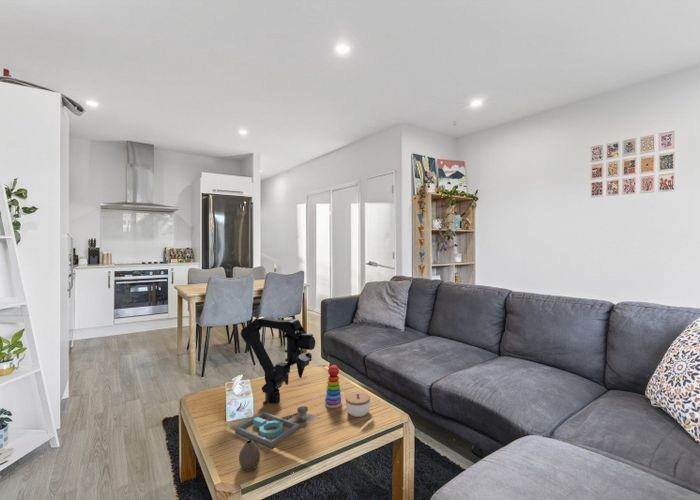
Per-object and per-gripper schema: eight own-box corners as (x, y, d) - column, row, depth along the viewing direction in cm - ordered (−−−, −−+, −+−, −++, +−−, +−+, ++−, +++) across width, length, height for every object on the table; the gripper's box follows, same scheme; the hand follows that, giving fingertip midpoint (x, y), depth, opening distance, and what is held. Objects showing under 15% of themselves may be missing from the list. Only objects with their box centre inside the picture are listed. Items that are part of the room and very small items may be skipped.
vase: (241, 461, 119) (241, 436, 119) (261, 460, 120) (261, 435, 119) (236, 474, 112) (236, 448, 112) (258, 473, 113) (257, 447, 113)
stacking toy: (339, 410, 154) (339, 369, 153) (322, 409, 155) (322, 368, 155) (343, 402, 161) (343, 363, 161) (327, 401, 163) (326, 362, 163)
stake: (285, 423, 143) (285, 410, 143) (301, 413, 152) (301, 401, 152) (304, 430, 138) (304, 417, 138) (319, 419, 146) (319, 406, 146)
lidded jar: (340, 415, 150) (340, 394, 150) (357, 406, 158) (356, 386, 157) (359, 423, 142) (358, 401, 142) (375, 414, 150) (375, 392, 150)
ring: (247, 430, 137) (246, 423, 137) (263, 420, 145) (263, 413, 145) (271, 440, 130) (271, 432, 130) (287, 429, 137) (287, 422, 137)
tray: (235, 433, 136) (235, 427, 136) (263, 417, 149) (263, 411, 149) (271, 449, 126) (271, 442, 126) (298, 430, 138) (298, 424, 138)
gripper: (292, 356, 145) (293, 392, 146) (319, 344, 161) (320, 377, 161) (273, 352, 151) (274, 387, 152) (301, 341, 167) (302, 373, 167)
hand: (293, 381), depth 158 cm, fingers open, 9 cm apart
